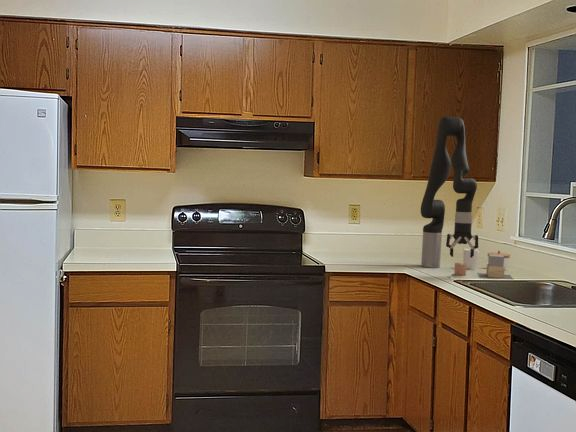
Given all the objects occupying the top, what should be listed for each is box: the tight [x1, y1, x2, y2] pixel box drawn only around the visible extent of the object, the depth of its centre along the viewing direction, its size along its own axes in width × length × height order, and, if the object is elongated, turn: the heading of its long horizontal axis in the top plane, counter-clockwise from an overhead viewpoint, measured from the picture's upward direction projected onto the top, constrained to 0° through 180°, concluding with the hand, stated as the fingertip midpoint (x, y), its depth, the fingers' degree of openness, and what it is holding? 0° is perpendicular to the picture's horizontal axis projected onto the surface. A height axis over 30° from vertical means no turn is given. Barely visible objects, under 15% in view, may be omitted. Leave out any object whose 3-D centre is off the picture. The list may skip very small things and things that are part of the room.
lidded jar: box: [487, 250, 511, 270], centre depth 369 cm, size 11×11×9 cm
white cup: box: [462, 248, 481, 271], centre depth 364 cm, size 8×8×10 cm
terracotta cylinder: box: [453, 262, 467, 277], centre depth 344 cm, size 5×5×6 cm
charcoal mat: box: [476, 272, 515, 280], centre depth 344 cm, size 13×15×1 cm
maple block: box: [486, 263, 506, 278], centre depth 343 cm, size 7×7×5 cm
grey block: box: [487, 254, 504, 267], centre depth 343 cm, size 6×6×4 cm
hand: (461, 257), depth 343 cm, fingers open, 8 cm apart
